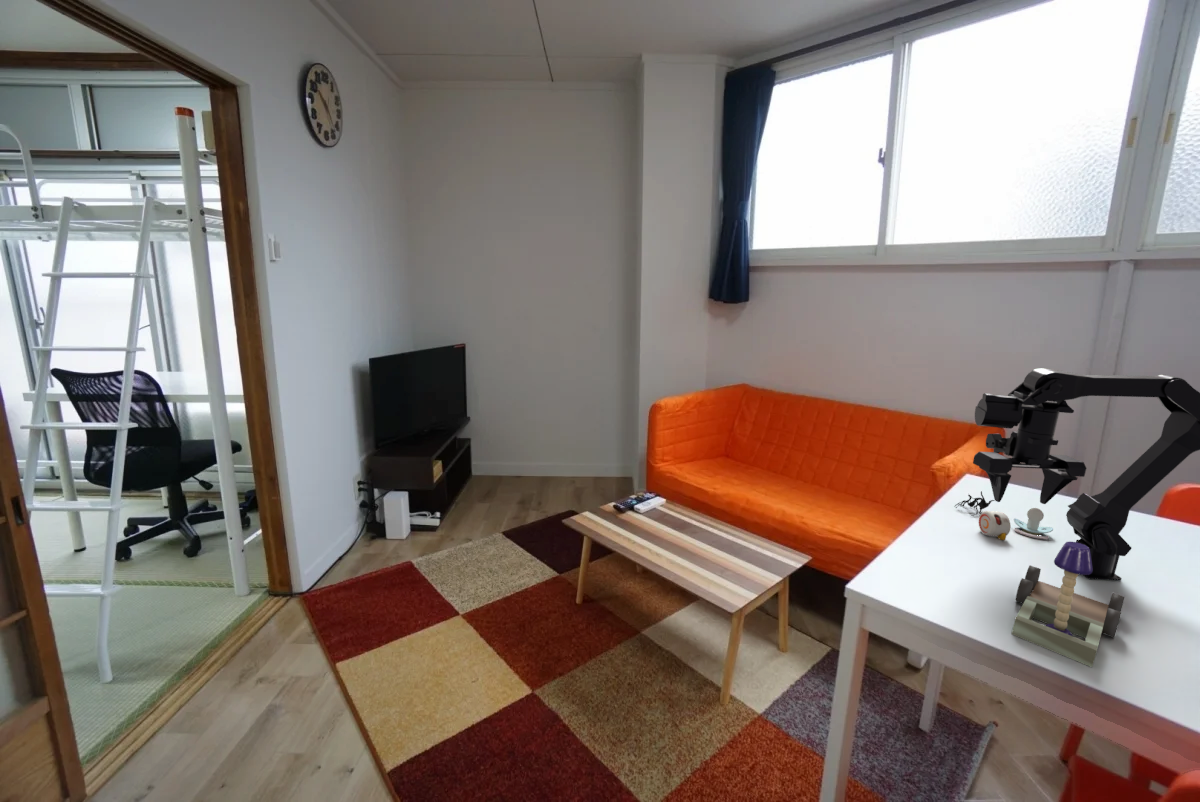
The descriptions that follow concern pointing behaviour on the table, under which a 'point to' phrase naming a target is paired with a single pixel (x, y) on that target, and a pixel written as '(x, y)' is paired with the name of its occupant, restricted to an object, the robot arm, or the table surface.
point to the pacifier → (1033, 525)
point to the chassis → (1083, 620)
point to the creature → (981, 504)
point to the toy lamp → (1070, 579)
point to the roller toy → (994, 524)
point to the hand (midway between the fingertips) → (1019, 502)
